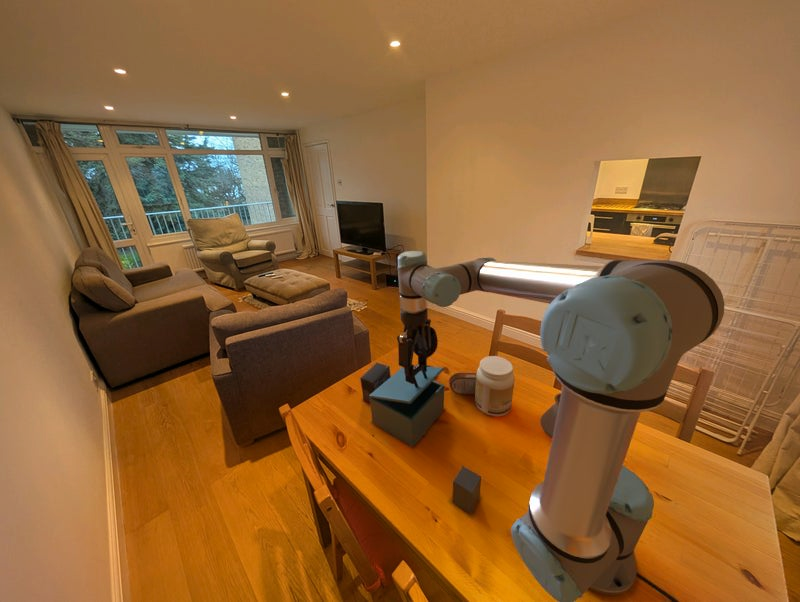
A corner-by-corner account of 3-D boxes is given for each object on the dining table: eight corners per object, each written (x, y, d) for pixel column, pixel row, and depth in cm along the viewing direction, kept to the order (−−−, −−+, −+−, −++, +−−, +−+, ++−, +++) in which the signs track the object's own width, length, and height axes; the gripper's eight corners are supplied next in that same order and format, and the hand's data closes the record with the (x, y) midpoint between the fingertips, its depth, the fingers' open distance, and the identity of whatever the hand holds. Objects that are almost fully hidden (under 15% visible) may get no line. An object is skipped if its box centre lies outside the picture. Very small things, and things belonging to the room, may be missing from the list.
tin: (489, 390, 109) (491, 371, 105) (491, 396, 106) (493, 377, 103) (448, 389, 110) (449, 371, 107) (449, 395, 107) (449, 376, 104)
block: (479, 497, 74) (481, 476, 71) (470, 514, 70) (472, 493, 67) (461, 486, 77) (462, 465, 74) (452, 502, 73) (453, 481, 70)
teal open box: (443, 409, 101) (444, 385, 97) (412, 447, 88) (411, 420, 84) (405, 391, 111) (404, 367, 107) (372, 422, 98) (369, 397, 93)
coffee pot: (537, 439, 88) (544, 401, 82) (540, 413, 98) (547, 377, 91) (623, 469, 79) (639, 428, 73) (618, 437, 88) (632, 398, 82)
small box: (378, 383, 116) (376, 361, 112) (392, 388, 113) (390, 366, 108) (362, 400, 108) (359, 377, 103) (376, 406, 105) (374, 382, 100)
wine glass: (409, 379, 117) (407, 336, 109) (415, 364, 126) (414, 323, 118) (434, 383, 114) (434, 339, 106) (439, 367, 123) (439, 326, 115)
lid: (444, 369, 95) (438, 352, 93) (410, 403, 81) (403, 384, 80) (404, 367, 106) (399, 352, 105) (369, 397, 93) (362, 380, 92)
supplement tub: (516, 403, 103) (522, 363, 96) (501, 424, 95) (506, 382, 88) (484, 388, 110) (487, 350, 103) (467, 406, 102) (470, 366, 95)
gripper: (421, 293, 89) (423, 357, 99) (380, 318, 76) (387, 388, 85) (443, 298, 85) (442, 364, 94) (403, 325, 72) (407, 399, 81)
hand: (416, 375), depth 90 cm, fingers closed on lid, 6 cm apart
